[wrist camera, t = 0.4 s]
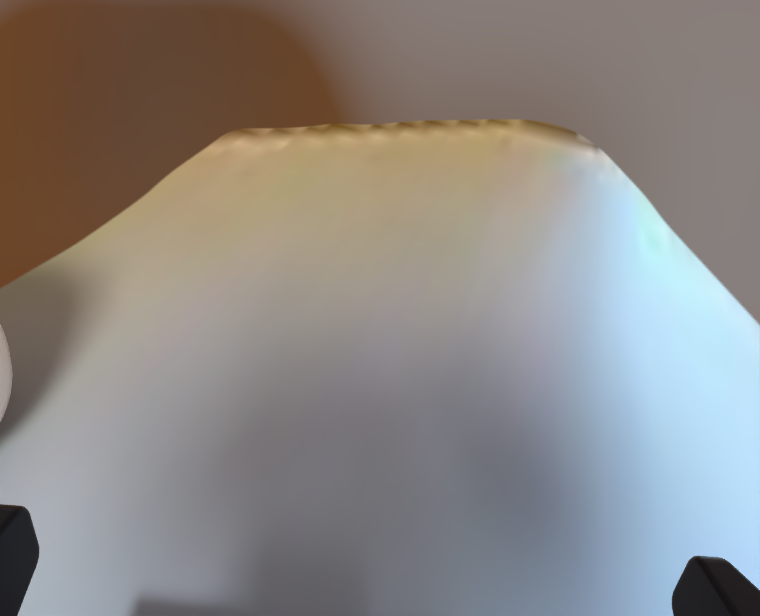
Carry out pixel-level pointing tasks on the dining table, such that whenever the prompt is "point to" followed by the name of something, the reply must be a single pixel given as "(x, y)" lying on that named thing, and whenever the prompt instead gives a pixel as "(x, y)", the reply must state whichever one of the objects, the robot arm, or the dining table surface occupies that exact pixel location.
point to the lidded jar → (4, 373)
